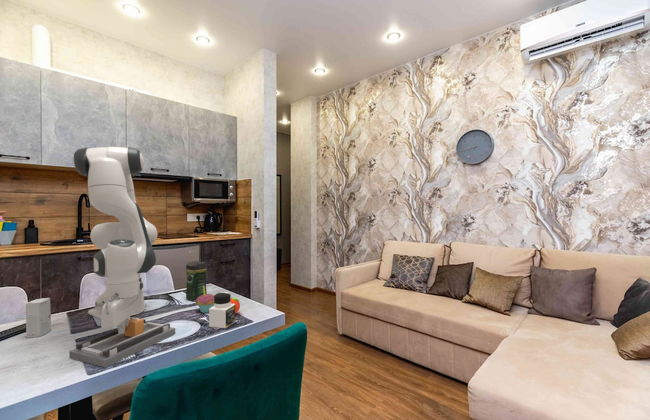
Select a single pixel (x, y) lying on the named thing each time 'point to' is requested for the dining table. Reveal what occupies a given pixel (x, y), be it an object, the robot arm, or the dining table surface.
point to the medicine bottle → (222, 311)
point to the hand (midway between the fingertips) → (123, 332)
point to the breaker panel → (95, 351)
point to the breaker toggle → (135, 327)
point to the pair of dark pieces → (125, 344)
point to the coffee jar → (195, 279)
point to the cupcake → (205, 301)
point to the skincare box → (38, 317)
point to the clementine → (236, 304)
